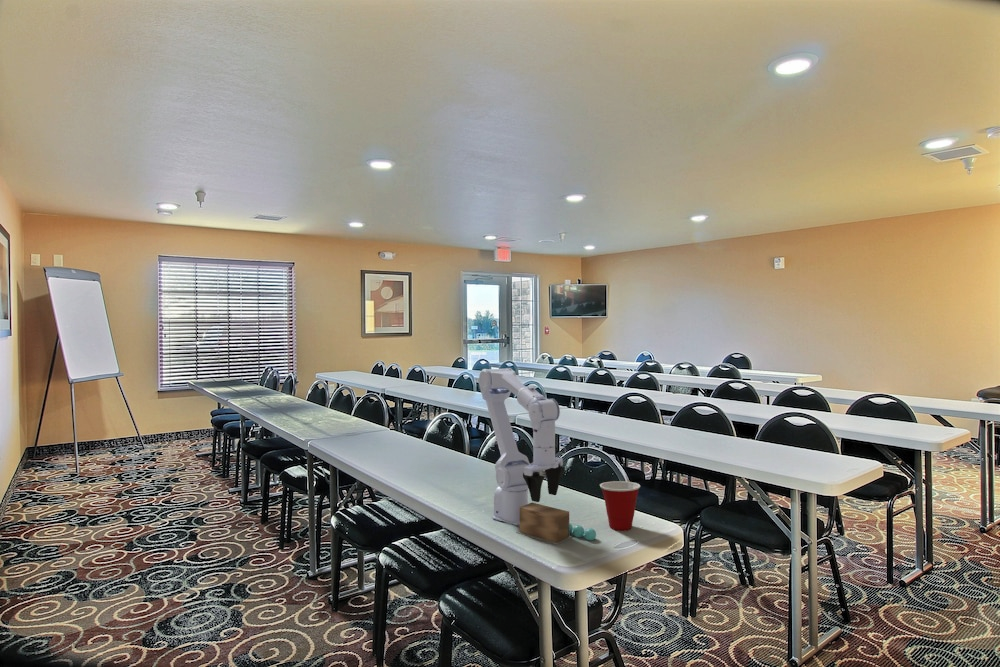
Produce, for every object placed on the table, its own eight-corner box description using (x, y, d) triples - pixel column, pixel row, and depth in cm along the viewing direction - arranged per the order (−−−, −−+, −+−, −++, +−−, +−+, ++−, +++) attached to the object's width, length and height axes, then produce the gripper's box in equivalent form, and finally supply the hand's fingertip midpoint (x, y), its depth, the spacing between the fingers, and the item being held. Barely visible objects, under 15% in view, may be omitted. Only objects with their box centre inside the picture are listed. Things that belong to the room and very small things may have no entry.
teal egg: (582, 540, 142) (582, 528, 142) (588, 537, 144) (588, 525, 144) (592, 543, 140) (592, 531, 140) (598, 540, 142) (598, 528, 142)
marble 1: (559, 534, 146) (559, 522, 146) (565, 531, 148) (565, 519, 148) (568, 536, 144) (568, 525, 144) (575, 533, 146) (575, 522, 146)
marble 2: (570, 537, 144) (570, 525, 144) (576, 534, 146) (576, 522, 146) (580, 540, 142) (580, 528, 142) (586, 536, 144) (586, 525, 144)
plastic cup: (622, 518, 158) (622, 476, 158) (648, 530, 149) (649, 486, 148) (591, 524, 153) (591, 481, 153) (617, 537, 143) (617, 491, 143)
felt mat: (515, 533, 146) (515, 532, 146) (531, 526, 152) (531, 524, 152) (556, 545, 138) (556, 544, 138) (572, 537, 144) (572, 536, 143)
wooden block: (519, 531, 147) (519, 507, 147) (532, 526, 151) (532, 502, 151) (557, 543, 139) (557, 517, 139) (569, 536, 143) (569, 511, 143)
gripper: (540, 452, 137) (540, 507, 137) (572, 443, 148) (572, 494, 148) (517, 448, 141) (517, 501, 142) (550, 440, 153) (550, 489, 153)
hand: (544, 497), depth 145 cm, fingers open, 7 cm apart
